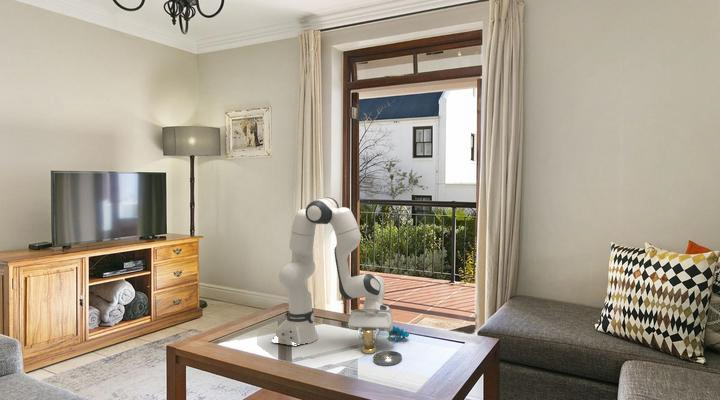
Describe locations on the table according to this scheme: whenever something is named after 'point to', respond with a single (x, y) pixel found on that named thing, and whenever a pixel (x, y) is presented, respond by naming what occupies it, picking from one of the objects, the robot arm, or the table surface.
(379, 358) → the dark grey flat disc
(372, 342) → the gold flanged cylinder
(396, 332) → the teal coral
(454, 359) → the table surface
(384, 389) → the table surface
